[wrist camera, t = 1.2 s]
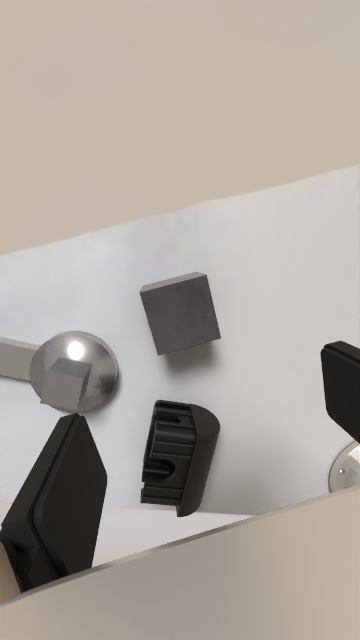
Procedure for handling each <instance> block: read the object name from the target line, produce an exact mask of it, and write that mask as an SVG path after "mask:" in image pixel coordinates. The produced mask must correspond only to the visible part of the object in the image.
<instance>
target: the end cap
mask: <svg viewBox="0 0 360 640" xmlns="http://www.w3.org/2000/svg"><path fill="white" fill-rule="evenodd" d="M219 431H220V423H219V421H218V419H217V418H216V416H215V415H214V414H213V413H211V412H210V411H209V410H207V409H205V408H203V407H200V406H198V405H194V404H186V403H179V402H172V401H164V400H158V401H156V403H155V406H154V411H153V415H152V420H151V425H150V430H149V435H148V440H147V445H146V450H145V455H144V461H143V463H144V465H143V471H142V482H145V483H144V488H143V489H142V490H141V503H148V504H160V505H172V506H176V510H177V517H184V516H188V515H190V514H192V513H194V512H195V511H196V510H197V509H198V507H199V505H200V503H201V499H202V495H203V492H204V488H205V484H206V480H207V477H208V473H209V469H210V465H211V461H212V458H213V454H214V450H215V446H216V443H217V439H218V435H219Z"/></svg>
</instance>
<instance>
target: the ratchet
mask: <svg viewBox="0 0 360 640" xmlns="http://www.w3.org/2000/svg"><path fill="white" fill-rule="evenodd" d="M117 373H118V367H117V361H116V358H115V355H114V353H113V352H112V350H111V349H110V347H109V346H108V345H107V344H106V343H105V342H104V341H103V340H101V339H100V338H98V337H96V336H94V335H92V334H90V333H86V332H81V331H69V332H64V333H61V334H58V335H56V336H54V337H52V338H51V339H49V340H48V341H47V342H45V343H44V344H43V345H42V346H39V345H34V344H30V343H25V342H21V341H16V340H12V339H7V338H3V337H0V375H2V376H7V377H12V378H17V379H22V380H27V381H31V384H32V387H33V389H34V391H35V392H36V394H37V395H38V396H39V397H40V398H41V402H40V403H42V404H48V405H49V406H51V407H53V408H55V409H58V410H61V411H65V412H84V411H88V410H91V409H93V408H95V407H97V406H99V405H100V404H102V403H103V402H104V401H105V400H106V399H107V398H108V396H109V395H110V394H111V392H112V390H113V387H114V384H115V381H116V378H117Z"/></svg>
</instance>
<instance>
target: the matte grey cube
mask: <svg viewBox="0 0 360 640" xmlns="http://www.w3.org/2000/svg"><path fill="white" fill-rule="evenodd" d="M140 295H141V299H142V302H143V305H144V309H145V312H146V316H147V319H148V322H149V326H150V329H151V333H152V336H153V339H154V343H155V346H156V349H157V353H158V356H159V355H162V354H166V353H170V352H173V351H177V350H180V349H184V348H188V347H191V346H195V345H199V344H202V343H206V342H209V341H213V340H217V339H220V338H221V336H220V332H219V327H218V323H217V318H216V314H215V310H214V305H213V301H212V297H211V292H210V288H209V283H208V279H207V275H206V274H202V273H198V272H194V273H190V274H186V275H183V276H179V277H175V278H171V279H168V280H164V281H160V282H156V283H153V284H149V285H145V286H143V287H142V289H141V291H140Z"/></svg>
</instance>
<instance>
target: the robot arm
mask: <svg viewBox="0 0 360 640" xmlns="http://www.w3.org/2000/svg"><path fill="white" fill-rule="evenodd" d="M321 363H322V372H323V382H324V392H325V402H326V410H327V413H328V415H329V416H330V417H331V418H332V419H333V420H334V421H335V422H336V423H337V424H338V425H339V426H340V427H342V428H343V429H344V430H345V431H346V432H347V433H348V434H349V435H350V436H352V437H353V438H354V439H355V440H356V441H355V442H353V443H352V444H351V445H349V446H348V447H347V448H346V449H345V450H344V451H342V452H341V454H340V455H339V456H338V458H337V459H336V461H335V462H334V464H333V466H332V469H331V473H330V479H329V484H330V490H331V492H332V493H330V494H326V495H323V496H320V497H317V498H313V499H310V500H307V501H303V502H300V503H297V504H294V505H290V506H287V507H284V508H280V509H277V510H274V511H271V512H267V513H264V514H261V515H258V516H254V517H251V518H248V519H245V520H241V521H238V522H235V523H232V524H228V525H225V526H222V527H219V528H216V529H212V530H209V531H206V532H203V533H200V534H196V535H193V536H190V537H187V538H184V539H180V540H177V541H174V542H171V543H167V544H164V545H161V546H158V547H155V548H152V549H148V550H145V551H142V552H139V553H135V554H133V555H129V556H126V557H123V558H120V559H117V560H114V561H111V562H108V563H105V564H102V565H99V566H96V567H93V568H91V567H92V561H93V557H94V551H95V546H96V541H97V535H98V529H99V524H100V519H101V514H102V508H103V503H104V498H105V492H106V487H107V473H106V470H105V468H104V465H103V463H102V460H101V457H100V455H99V452H98V450H97V447H96V445H95V442H94V439H93V437H92V434H91V432H90V429H89V426H88V424H87V421H86V419H85V417H84V416H83V415H82V416H80V415H79V414H78V413H75V414H71V415H67V416H64V417H61V418H60V419H59V421H58V423H57V424H56V426H55V428H54V430H53V432H52V433H51V435H50V437H49V439H48V441H47V442H46V444H45V446H44V448H43V450H42V452H41V453H40V455H39V457H38V459H37V461H36V462H35V464H34V466H33V468H32V470H31V471H30V473H29V475H28V477H27V479H26V480H25V482H24V484H23V486H22V488H21V490H20V491H19V493H18V495H17V497H16V499H15V500H14V502H13V504H12V506H11V508H10V510H9V511H8V513H7V515H6V517H5V519H4V520H3V522H2V524H1V526H2V529H1V531H0V640H360V349H359V348H357V347H354V346H352V345H350V344H348V343H345V342H343V341H337V342H334V343H330V344H326V345H325V346H324V349H322V350H321Z"/></svg>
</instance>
